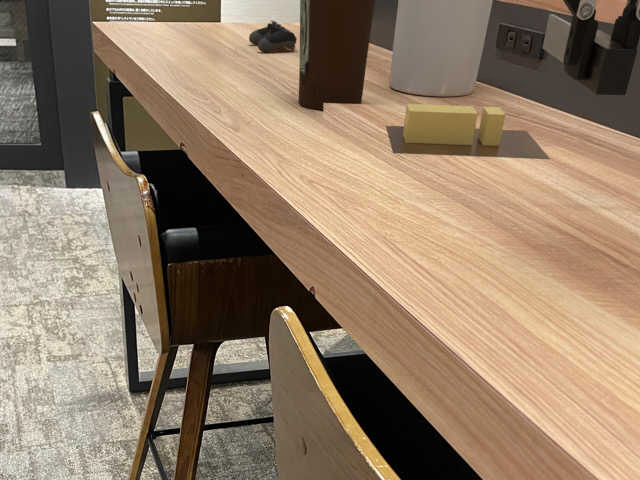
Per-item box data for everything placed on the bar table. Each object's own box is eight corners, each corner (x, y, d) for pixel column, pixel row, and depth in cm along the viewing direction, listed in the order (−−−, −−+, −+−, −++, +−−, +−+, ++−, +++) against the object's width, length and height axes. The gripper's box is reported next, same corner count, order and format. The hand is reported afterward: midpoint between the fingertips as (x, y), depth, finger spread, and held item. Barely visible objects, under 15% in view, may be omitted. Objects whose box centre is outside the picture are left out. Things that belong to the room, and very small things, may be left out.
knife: (625, 95, 61) (638, 49, 59) (595, 95, 61) (607, 48, 59) (556, 48, 78) (564, 11, 76) (532, 48, 78) (540, 11, 76)
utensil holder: (487, 85, 137) (510, -43, 126) (467, 101, 126) (491, -37, 115) (401, 77, 141) (417, -47, 130) (375, 92, 131) (390, -42, 120)
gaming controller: (246, 41, 168) (253, 13, 165) (281, 51, 170) (288, 23, 167) (257, 51, 159) (264, 21, 156) (294, 61, 161) (301, 32, 158)
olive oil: (364, 98, 127) (384, -107, 111) (366, 113, 118) (388, -107, 103) (295, 95, 127) (306, -109, 112) (292, 110, 119) (304, -108, 103)
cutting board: (524, 143, 106) (526, 130, 105) (547, 172, 95) (550, 158, 94) (384, 137, 107) (385, 125, 106) (391, 166, 96) (393, 152, 95)
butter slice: (493, 138, 101) (499, 107, 99) (499, 146, 98) (505, 114, 96) (477, 137, 101) (483, 106, 99) (482, 145, 98) (488, 113, 96)
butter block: (467, 137, 101) (473, 106, 99) (472, 145, 98) (478, 113, 96) (402, 135, 102) (406, 103, 100) (405, 142, 99) (409, 110, 97)
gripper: (772, -236, 56) (680, 71, 67) (533, -236, 57) (483, 67, 68) (826, -250, 50) (715, 88, 61) (559, -249, 51) (499, 85, 62)
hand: (594, 75), depth 65 cm, fingers closed on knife, 2 cm apart
